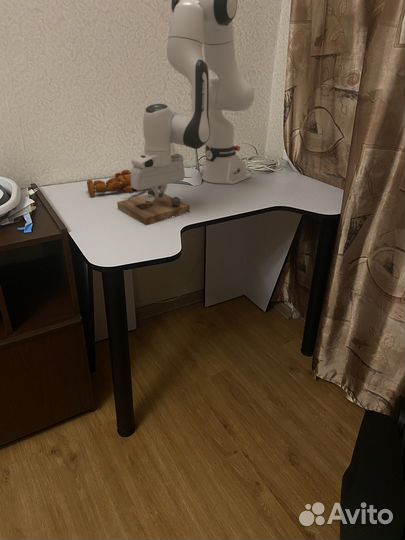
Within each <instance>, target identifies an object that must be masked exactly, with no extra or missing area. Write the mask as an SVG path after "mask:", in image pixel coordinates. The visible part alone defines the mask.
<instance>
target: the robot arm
mask: <svg viewBox="0 0 405 540" xmlns="http://www.w3.org/2000/svg"><path fill="white" fill-rule="evenodd" d="M170 6H171V12H172V15H171V21H170V25H169V30H168V37H167V45H166V55H167V56H166V57H167V60H168V63H169V65H171V67H172V68H173V69H174V70H175V71H176V72H177V73H179V74H180V75H182V76H184V77H185V78H186V79H187V80H188V82H189V83H190V85H191V86H190V87H191V89H190V99H191V113H190V115H189V114H182V113H177V112H175V111H173V110H171V109H170V108H169V106H168V105H167V104H165V103H154V104H150V105H148V106H147V107H146V108H144V111H143V120H142V121H143V123H142V129H143V130H142V131H143V138H144V148H143V150H144V151H142V152H140V153H139V154H137V155H136V156H134V157H132V158H131V164H132V165H133V166H132V167H131V170H130V171H131V186H132V187H133V188H134V189H133V190H136V191H143V190H148V189H149V188H152V190H153V191H154V193H155V198H161V197H164V194H165V192H166V189H167V188H168V185H169V184H173V183H177V182H181V181H184V179H185V178H186V177H185V175H186V174H185V172H186V171H185V166H184V157H183V155H182V154H180V153H176V154H172V145H171V144H175V145H180V146H185V147H188V148H191V149H194V150H198V149H200V148H202V147H203V146H204V145H205V150H204V151H205V152H204V153H205V161H204V162H205V163H204V169H203V174H202V177H201V179H202V180H203V181H204V182H208V183H212V184H227V185H235V184H237V183H239V182H242V181H244V180H246V179H250V178H251V177H252V174H251V172H248V171H247V164H246V162H245V161H244V160H243V159H242V158H241V157H240V156H238V154H237V152H239V151H240V150H241V146H239V145H234V137H235V128H234V125H233V124H232V123H233V122H232V121H230V120H228V119H227V118H226V117H225V116H224V114H223V111H228V112H229V111H230V112H242V111H248V110H249V109H250V107H252V105H253V103H254V99H255V91H254V88H253V86H252V84H251V83H249V82H248V81H247V80H246V79H245V78H244V77H243V75H242V73H241V71H240V69H239V68H238V64H237V62H236V61H237V60H236V54H235V53H236V52H235V37H234V35H235V34H234V25H233V24H234V23H233V20H234V18H235V17H236V14H237V9H238V0H171V5H170ZM203 56H204V57H203ZM209 71H211V72H212V73H214V74H215V75H216V77H217V78H218V79H217V78H210V77H209ZM236 151H237V152H236ZM159 187H160V190H159ZM158 190H159V191H158Z"/></svg>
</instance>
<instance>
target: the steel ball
mask: <svg viewBox="0 0 405 540" xmlns="http://www.w3.org/2000/svg"><path fill="white" fill-rule="evenodd" d="M146 195H147V196H146V198H145V201H146V203H147V204H149V205H152V204H154V203H155V197H154V196H153V195H148V194H146Z"/></svg>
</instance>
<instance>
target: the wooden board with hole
mask: <svg viewBox="0 0 405 540" xmlns="http://www.w3.org/2000/svg"><path fill="white" fill-rule="evenodd" d="M147 195H148V194H144V195H141V196H137V197H133V198H128V199H124V200H120V201H117V202H116V205H117V210H119V211H121V212H122V213H124V214H126V215H128V216H129V217H131V218H132V219H135V220H137V221H138V222H139V223H142V224H144V225H146V226H148V225H151V224H155V223H158V222H161V220H162V221H164V219H165V220H167V218H168V219H171V218H170V217H172V216H175V217H177V216H176V215H179V214H182V213H185V214H187V213H186V212H189V213H190V205H189V204H187V203H186V202H183V201H181V202H180V205H178V206H173V205H172V203H171V200H172V198H173V196H170V195H168V194H165V193H164V197H161V198H155V203H154V204H152V205H149V204H147V203H146V201H145V198H146V196H147ZM154 197H155V196H154ZM182 215H183V214H182ZM179 216H180V215H179ZM172 218H173V217H172Z"/></svg>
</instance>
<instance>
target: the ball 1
mask: <svg viewBox="0 0 405 540" xmlns="http://www.w3.org/2000/svg"><path fill="white" fill-rule="evenodd" d="M147 195H153V196H155V193H154V191H153V190H152V188H148V189H147Z"/></svg>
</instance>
